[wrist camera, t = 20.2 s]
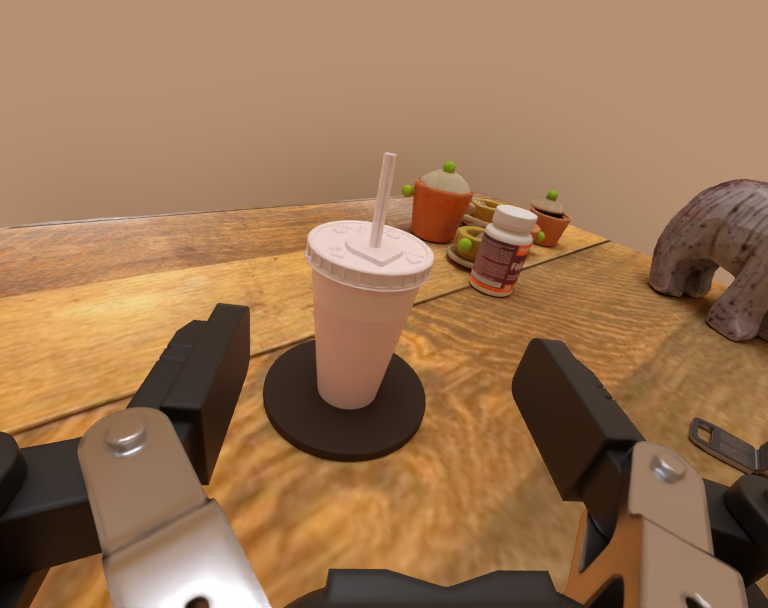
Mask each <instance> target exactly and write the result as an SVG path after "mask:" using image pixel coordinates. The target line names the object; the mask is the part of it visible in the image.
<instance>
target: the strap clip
mask: <svg viewBox="0 0 768 608" xmlns="http://www.w3.org/2000/svg"><path fill="white" fill-rule="evenodd" d="M698 426H701V427H702V428H704V429H706V430H707V431H709V432H710V433H712V437H711V445H710V444H709V443H707V442H705V441H704V440H702V439H700V438H699V437H698V435H697V433H698ZM690 438H691V439H692V440H693V441H694V442H695V443H696V444H697V445H699V446H700V447H701V448H703V449H704V450H705V451H706V452H708V453H709V454H711V455H713V456H715V457H717V458H719V459H721V460H723V461H724V462H726V463H728V464H730V465H732V466H734V467H736V468H738V469H740V470H742V471H743V472H745V473H747V474H752V473H755V474H756V475H757V474H759V472H760V473H761V474H762V475H764V474H767V475H768V441H767V442H766V443H765V444H763V445H762V446H761V447H760V448H759V450H755V448H754V447H753V446H751V445H750V444H748V443H746V442H744V441H742V440H741V439H739V438H737V437H735V436H733V435H732V434H730V433H728V432H726V431H724V430H723V429H721V428H719V427H717V426H715V425H713V424H711V423H709V422H707V421H704V420H702V419H700V418H694V419H693V421H692V427H691V433H690Z"/></svg>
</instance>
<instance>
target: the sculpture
mask: <svg viewBox="0 0 768 608" xmlns="http://www.w3.org/2000/svg"><path fill="white" fill-rule="evenodd" d="M720 266H721V267H723V268H724V269H725V270H727V271H728V272H730V273H731V274H732V275H733V276H734V277H735V280H734V281H733V282H732V284H731V285H730V286H729V287H728V288H727V289H726V291H725V292H724V293H723V294H722V295H721V296H720V297H719V298H718V300H717V301H716V302H715V304H714V305H713V306H712V307H711V309H710V310H709V313H708V316H707V319H706V321H707V322H708V324H709V325H711V326H712V327H713V328H714V329H716V330H717V331H718V332H719V333H721V334H722V335H724V336H725V337H727V338H729V339H731V340H735V341H738V340H739V341H744V340H749V339H751V338H753V337H755V336H757V335H758V336H760V337H761V338H763V339H765V340H767V341H768V183H767V182H761V181H755V180H748V179H741V180H732V181H728V182H724V183H721V184H719V185H716V186H714V187H710V188H708V189H706V190H704V191H702V192H701V193H699V194H698V195H697V196H695V197H694V198H693V199H692V200H691V201H690V202H689V203H688V204H687V205H686V206H685V207H684V208H682V209H681V210H680V211H679V212H678V213H677V214H676V215H675V216H674V217H673V218H672V219H671V221H670V222H669V223H668V225H667V226H666V227H665V229H664V231H663V232H662V234H661V236H660V237H659V239H658V242H657V244H656V247H655V250H654V254H653V259H652V264H651V270H650V278H649V283H650V284H651V286H652V287H653V288H654V289H655V290H657V291H659V292H661V293H664V294H668V295H672V296H676V297H680V296H681V295H682V294H683V292H684V293H685V294H687V295H689V296H691V297H701V296H703V295H706V294H707V293H708V292H709V291H710V290H711V283H712V278H713V276H714V273H715V271H716V270H717V269H718V268H719V267H720Z"/></svg>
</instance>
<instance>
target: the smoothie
mask: <svg viewBox="0 0 768 608" xmlns="http://www.w3.org/2000/svg"><path fill="white" fill-rule="evenodd" d="M396 158H397V155H396V154H393V153H387V152H385V153H384V157H383V163H382V169H381V175H380V181H379V187H378V193H377V199H376V205H375V211H374V217H373V222H365V221H334V222H329V223H325V224H322V225H319V226H317V227H316V228H314V229H313V230H311V231H310V233H309V234H308V240H307V248H306V252H305V257H306V260H307V263H308V264H309V265H310V266H311V267H312V283H313V301H314V322H315V343H316V364H317V385H318V391H319V394H320V395H321V397H322V398H323V399H324V400H325V401H326V402H327V403H329V404H330V405H332V406H335V407H337V408H341V409H359V408H362V407H365V406H367V405H368V404H370V403H371V402H372V401H373V400H374V398H375V396H376V394H377V391H378V389H379V387H380V384H381V382H382V379H383V377H384V374H385V372H386V369H387V367H388V364H389V362H390V359H391V357H392V355H393V352H394V350H395V347H396V345H397V342H398V340H399V337H400V335H401V332H402V330H403V327H404V325H405V323H406V320H407V318H408V315H409V313H410V310H411V308H412V306H413V303H414V301H415V298H416V295H417V293H418V290H419V288H420V287H421V286H423V285H424V284H425V283H426V282H427V281H428V280H429V279H430V276H431V272H432V271H431V268H432V264H433V261H434V255H433V252H432V250H431V249H430V248H429V247H428V246H427V244H425V243H424V242H423V241H422V240H420V239H419V238H417V237H415V236H413V235H412V234H409V233H407V232H405V231H402V230H400V229H397V228H394V227H390V226H387V225H384V223H385V218H386V213H387V207H388V202H389V196H390V191H391V185H392V180H393V175H394V169H395V163H396Z"/></svg>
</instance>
